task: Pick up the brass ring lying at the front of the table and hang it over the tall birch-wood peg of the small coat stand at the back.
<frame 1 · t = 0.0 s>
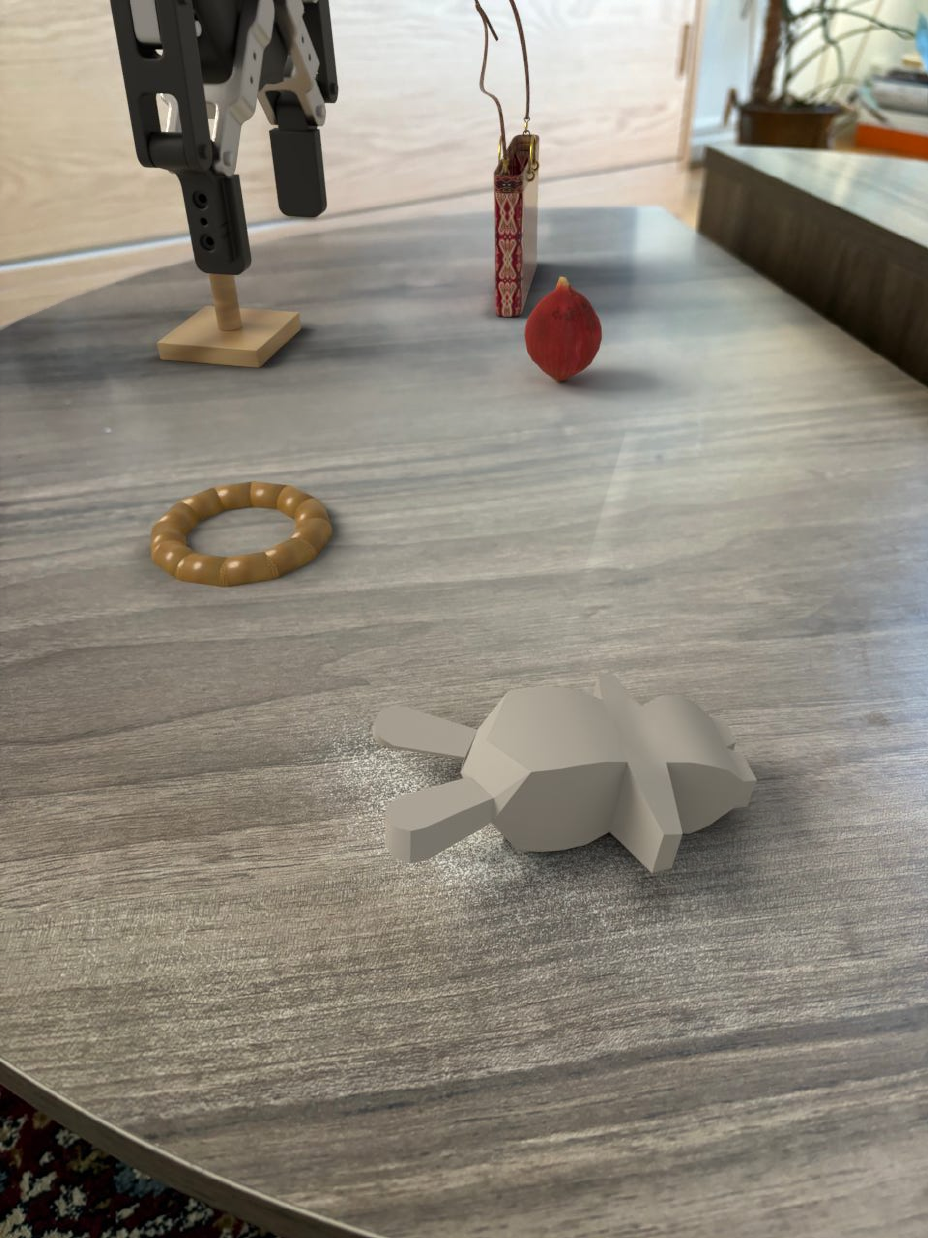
hand: (267, 241, 44), 19 cm above the table, tool pointing down, fingers open, 8 cm apart
ring: (241, 534, 59), point 1 cm above the table
onion: (561, 383, 78), on the table
bunny figurine: (560, 813, 42), on the table
stand: (232, 343, 86), on the table
handbag: (500, 284, 97), on the table
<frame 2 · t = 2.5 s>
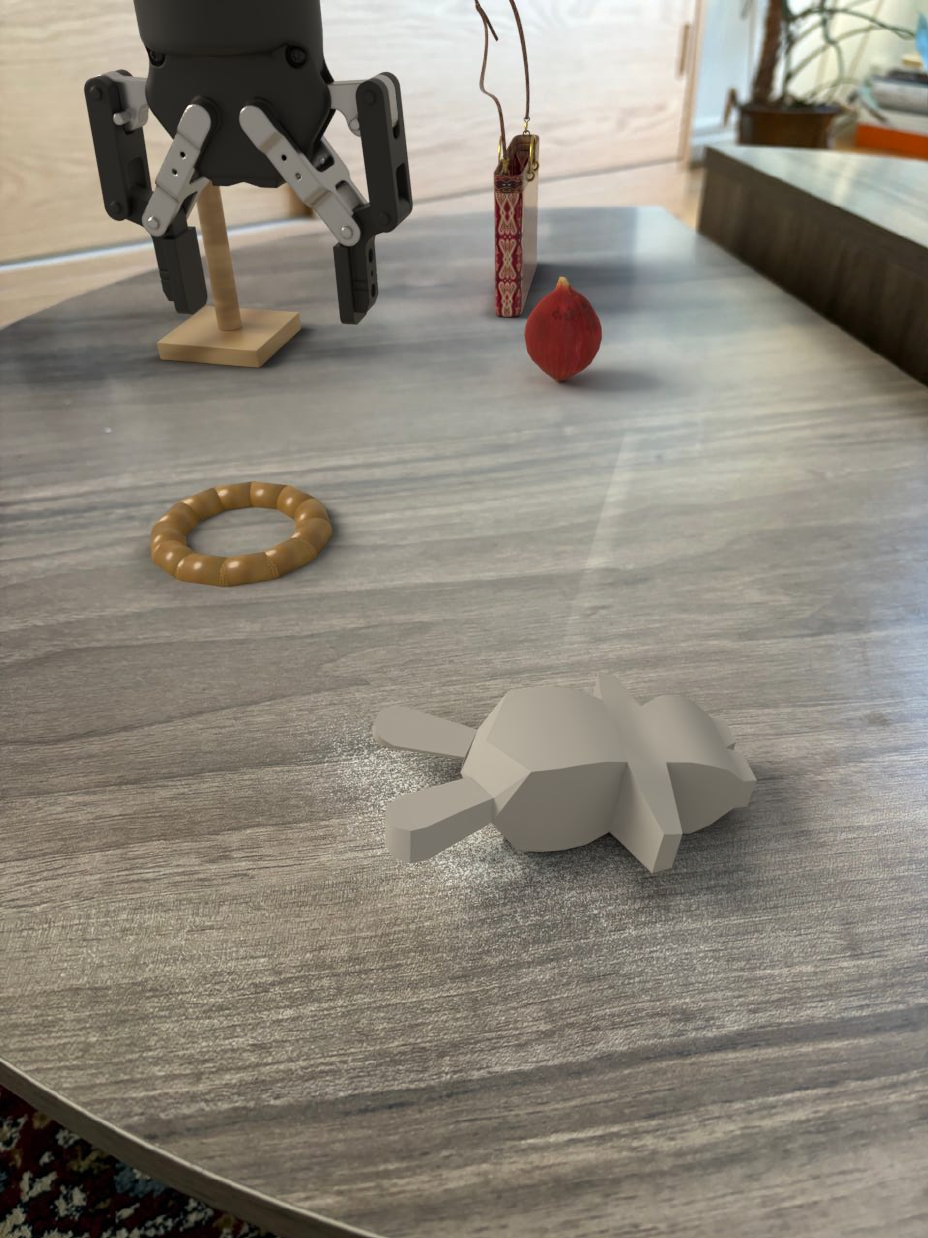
hand: (272, 314, 49), 15 cm above the table, tool pointing down, fingers open, 8 cm apart
nothing on the table moved.
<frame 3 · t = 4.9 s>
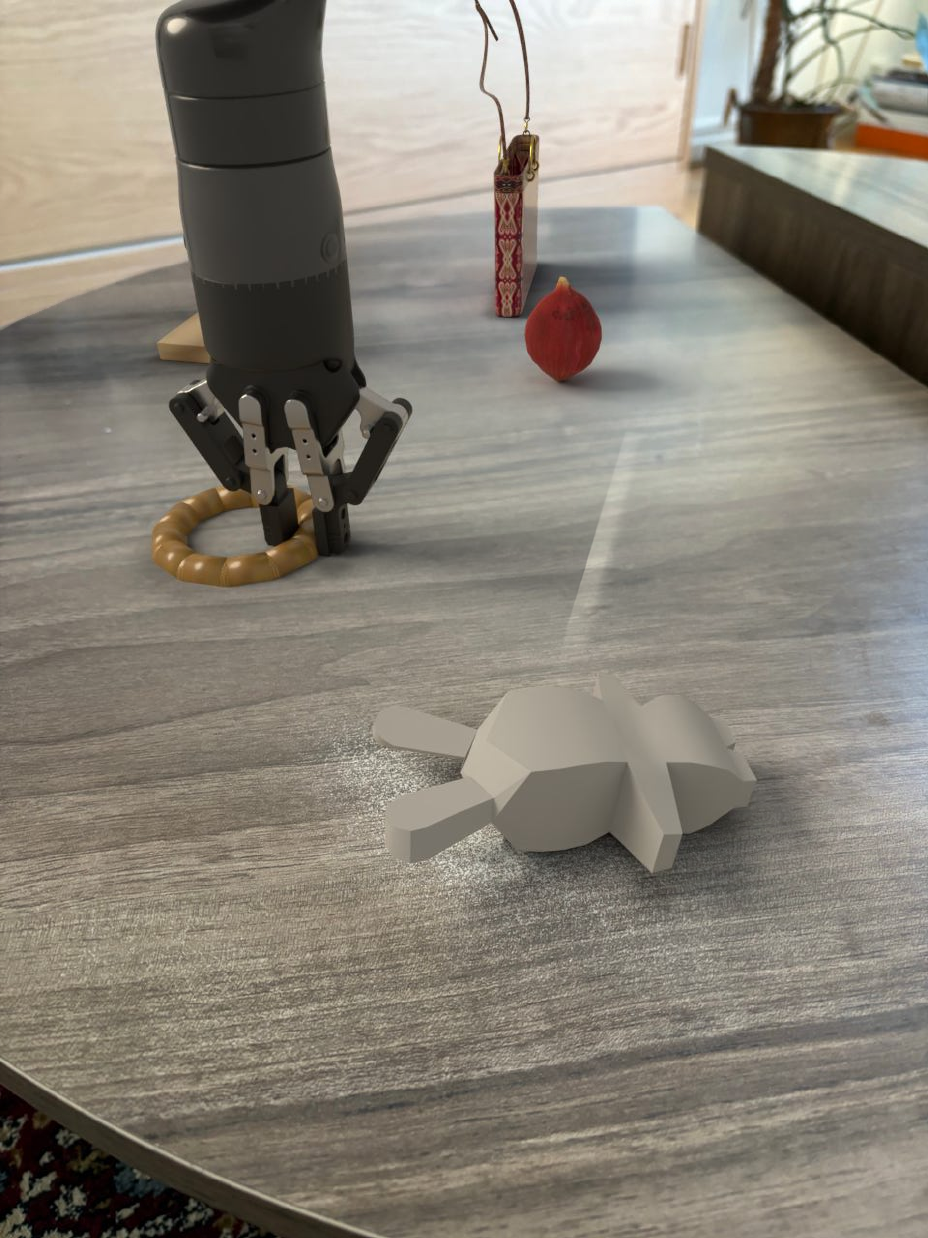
hand: (309, 553, 58), 0 cm above the table, tool pointing down, fingers closed on ring, 2 cm apart
ring: (242, 534, 59), point 1 cm above the table, touching gripper
everything else where it was.
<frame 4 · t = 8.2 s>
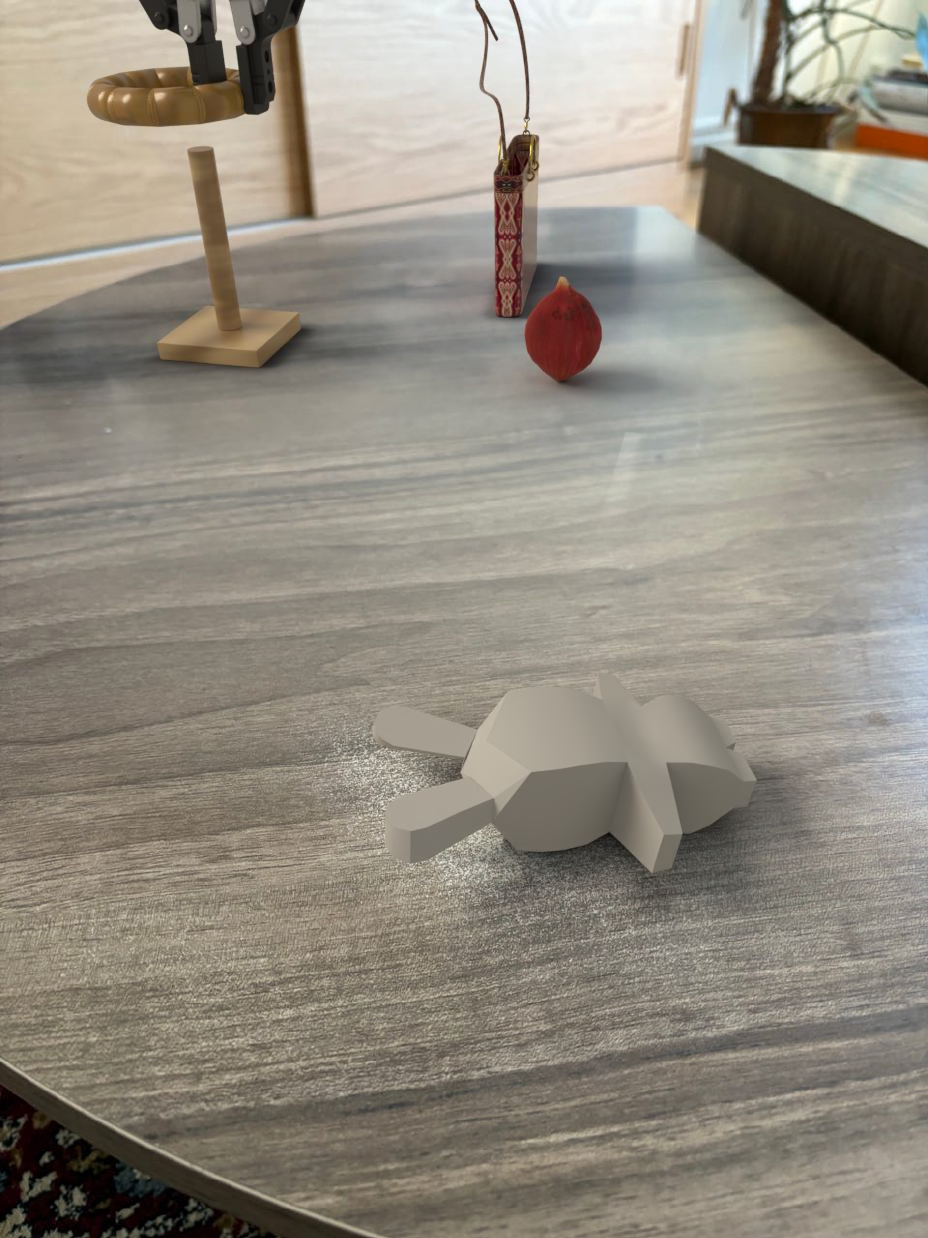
hand: (237, 110, 61), 21 cm above the table, tool pointing down, fingers closed on ring
ring: (175, 94, 62), point 21 cm above the table, touching gripper
everything else where it was.
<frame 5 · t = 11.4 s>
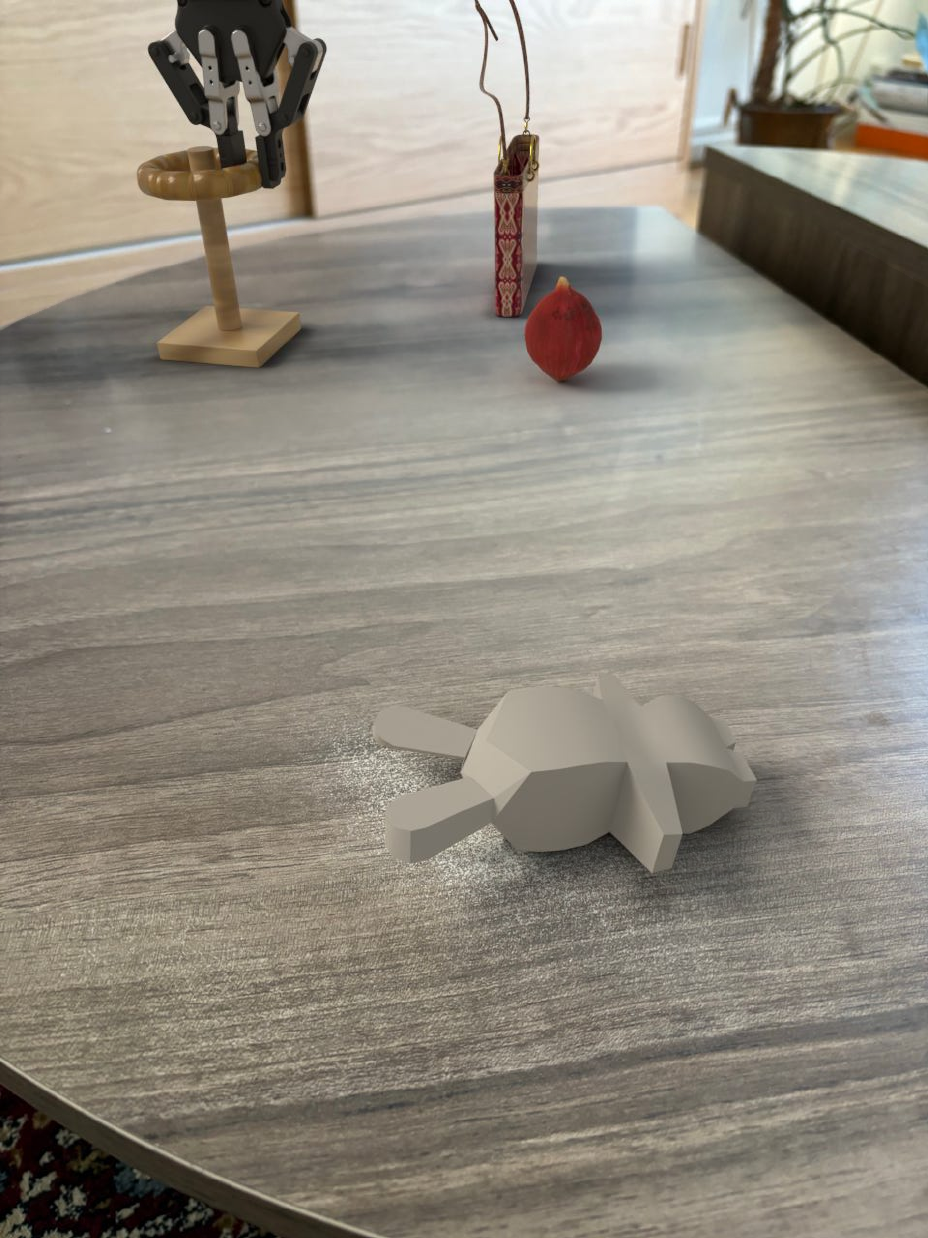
hand: (255, 184, 77), 13 cm above the table, tool pointing down, fingers closed on ring
ring: (205, 173, 77), point 14 cm above the table, touching gripper
everything else where it was.
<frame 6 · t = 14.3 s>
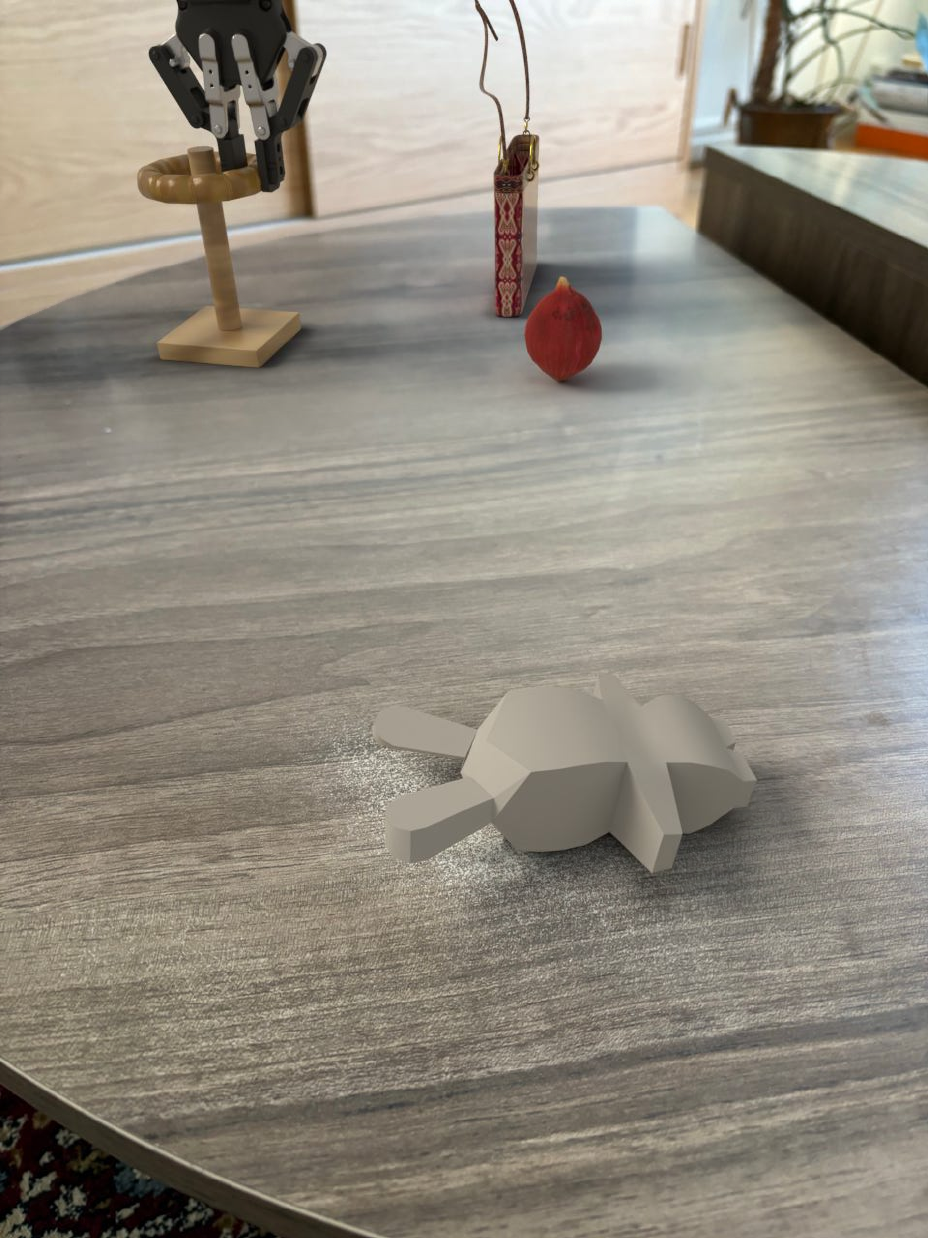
hand: (255, 188, 77), 13 cm above the table, tool pointing down, fingers closed on ring
ring: (206, 176, 78), point 13 cm above the table, touching gripper
everything else where it was.
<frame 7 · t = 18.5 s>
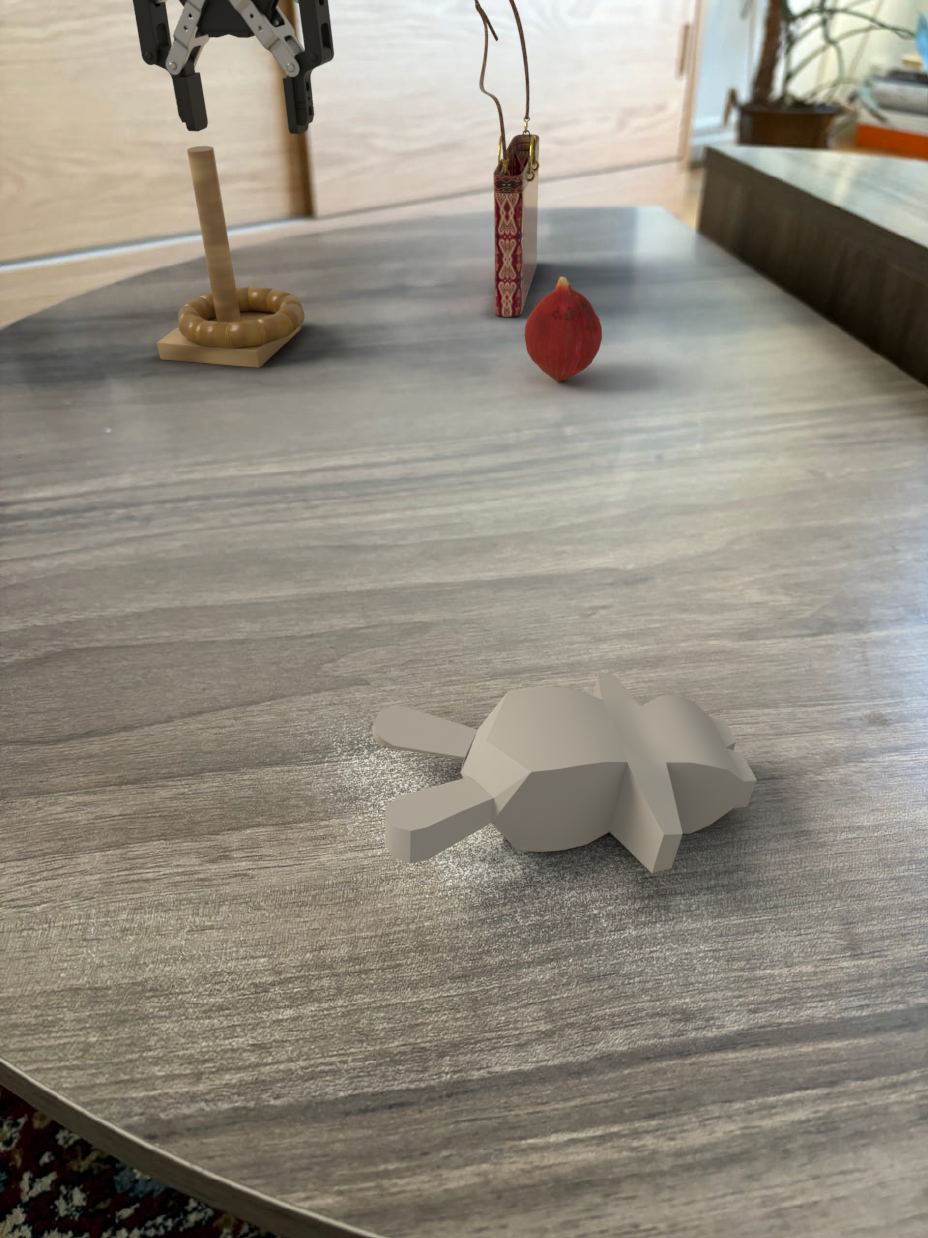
hand: (247, 130, 75), 17 cm above the table, tool pointing down, fingers open, 8 cm apart
ring: (241, 316, 84), point 2 cm above the table, touching stand
everything else where it was.
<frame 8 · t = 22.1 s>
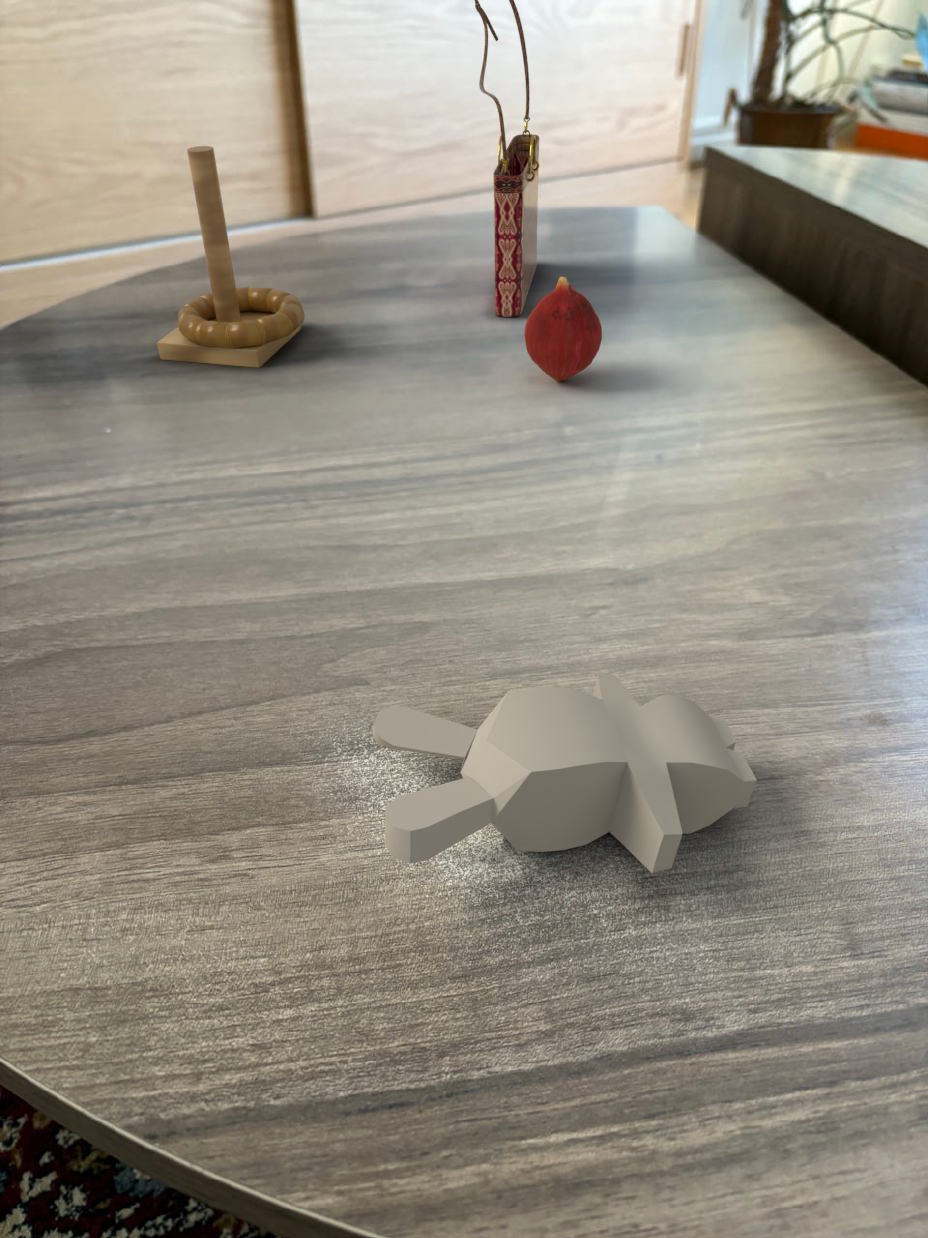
nothing on the table moved.
at the end: ring 1.2 cm from the stand (horizontally); ring 1.2 cm off-centre on the stand, point 2.5 cm above the stand's base; the gripper is holding nothing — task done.
